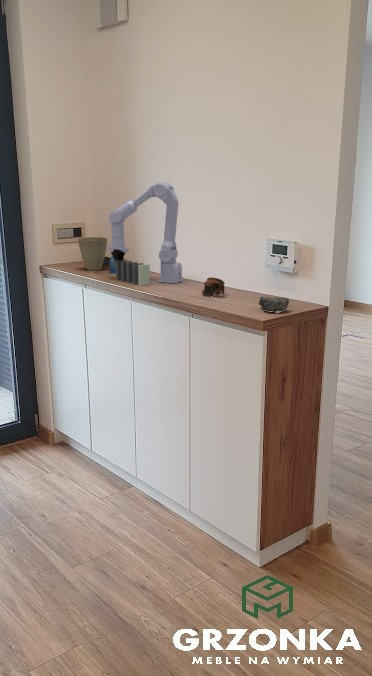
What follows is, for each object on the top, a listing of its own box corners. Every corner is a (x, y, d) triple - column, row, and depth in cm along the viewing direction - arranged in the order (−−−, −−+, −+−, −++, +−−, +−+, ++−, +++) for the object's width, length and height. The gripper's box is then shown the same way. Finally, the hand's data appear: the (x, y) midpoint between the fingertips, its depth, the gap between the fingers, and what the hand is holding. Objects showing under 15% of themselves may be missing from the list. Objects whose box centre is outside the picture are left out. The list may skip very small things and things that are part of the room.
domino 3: (126, 282, 268) (126, 262, 266) (135, 281, 271) (135, 261, 269) (128, 283, 267) (128, 263, 265) (137, 281, 270) (137, 262, 268)
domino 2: (121, 281, 272) (120, 261, 269) (130, 280, 275) (130, 260, 272) (123, 281, 271) (122, 262, 268) (132, 280, 274) (131, 261, 271)
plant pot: (77, 268, 310) (76, 237, 306) (105, 266, 314) (104, 236, 310) (81, 272, 296) (79, 240, 292) (110, 271, 300) (109, 239, 296)
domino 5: (138, 285, 261) (138, 265, 259) (147, 284, 264) (147, 264, 262) (140, 285, 260) (140, 265, 258) (149, 284, 263) (149, 264, 261)
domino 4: (132, 283, 265) (132, 264, 262) (141, 282, 268) (141, 263, 265) (134, 284, 264) (134, 264, 261) (143, 283, 267) (143, 263, 264)
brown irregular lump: (195, 295, 242) (201, 277, 243) (214, 304, 246) (219, 285, 248) (211, 293, 231) (217, 273, 233) (230, 301, 236) (235, 282, 237)
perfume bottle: (124, 271, 299) (124, 248, 295) (122, 273, 293) (121, 249, 289) (112, 271, 299) (112, 247, 296) (110, 273, 293) (109, 249, 290)
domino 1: (116, 279, 275) (115, 260, 272) (125, 278, 278) (124, 259, 276) (117, 280, 274) (117, 261, 271) (126, 279, 277) (126, 260, 274)
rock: (294, 311, 212) (294, 298, 211) (274, 315, 206) (275, 301, 205) (268, 305, 221) (269, 292, 220) (249, 309, 215) (250, 295, 214)
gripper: (102, 236, 275) (103, 265, 279) (119, 239, 265) (120, 269, 268) (115, 235, 280) (115, 264, 283) (132, 238, 269) (132, 267, 273)
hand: (118, 266), depth 276 cm, fingers closed
